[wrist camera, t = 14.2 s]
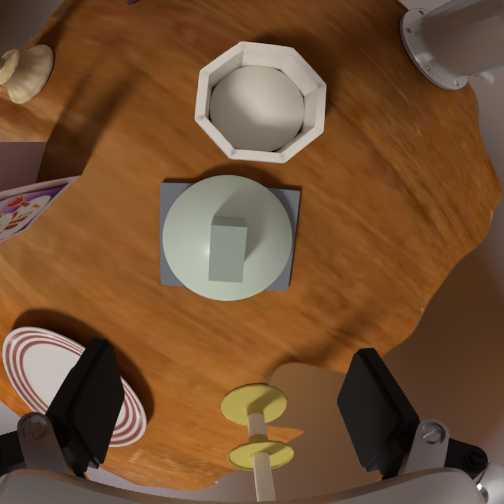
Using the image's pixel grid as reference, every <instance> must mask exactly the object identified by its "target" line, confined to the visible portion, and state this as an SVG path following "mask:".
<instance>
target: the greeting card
mask: <svg viewBox="0 0 504 504" xmlns="http://www.w3.org/2000/svg"><path fill="white" fill-rule="evenodd" d="M46 144H47V142H0V243H2V242H4V241H6V240H8V239H10V238H12V237H14V236H16V235H18V234H20V233H22V232H24V231H27V229H28V228H29V227H30V226H31V225H32V224H33V223H34V222H35V221H36V219H37V218H38V217H39V216H40V215H41V214H42V213H43V212H44V211H45V210H46V209H47V208H48V207H49V206H50V205H51V204H52V203H53V202H54V201H55V200H56V199H57V198H58V197H59V196H60V195H61V194H62V193H63V192H64V191H65V190H66V189H67V188H68V187H69V186H70V185H71V184H72V183H74V182H75V181H76V180H77V179H78V178H79V177H80V176H81V175H80V176H73V177H67V178H62V179H56V180H51V181H45V182H40V183H36V180H37V176H38V172H39V168H40V164H41V161H42V157H43V154H44V151H45V147H46Z"/></svg>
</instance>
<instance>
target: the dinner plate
mask: <svg viewBox="0 0 504 504" xmlns="http://www.w3.org/2000/svg"><path fill="white" fill-rule="evenodd" d="M84 350H85V347H84V346H82V345H80V344H79V343H77V342H75V341H73V340H71V339H69V338H67V337H65V336H63V335H61V334H58V333H56V332H53V331H50V330H47V329H44V328H38V327H21V328H17V329H15V330H13V331H12V332H10V333H9V335H8V336H7V337H6V339H5V341H4V345H3V362H4V366H5V369H6V372H7V375H8V377H9V379H10V381H11V383H12V385H13V386H14V388H15V389H16V391H17V392H18V394H19V395H20V396H21V398H22V399H23V400H24V401H25V403H26V404H27V405H28V406H29V407H30V408H31V409H32V410H33V411H34V412H40V413H42V414H44V415H45V413H46V411H47V409H48V408H49V406H50V404H51V402H52V400H53V399H54V397H55V395H56V393H57V392H58V390H59V388H60V386H61V385H62V383H63V381H64V380H65V378H66V376H67V374H68V373H69V371H70V370H71V368H72V367H74V366H75V364H76V363H77V361H78V360H79V358H80V356H81V355H82V353H83V352H84ZM120 377H121V376H120ZM121 380H122V384H123V387H124V391H125V399H124V402H123V405H122V408H121V410H120V413H119V416H118V419H117V422H116V425H115V428H114V431H113V434H112V438H111V441H110V444H109V447H119V446H125V445H129V444H131V443H133V442H135V441H137V440H138V439H140V438H141V436H142V435H143V434H144V432H145V429H146V423H147V421H146V414H145V411H144V408H143V406H142V404H141V402H140V400H139V398H138V397H137V395H136V394H135V392H134V391H133V390H132V388H131V387H130V386H129V384H128V383H127V382H126V381H125V380H124V379H123V378H122V377H121Z"/></svg>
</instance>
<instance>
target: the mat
mask: <svg viewBox="0 0 504 504" xmlns="http://www.w3.org/2000/svg"><path fill="white" fill-rule="evenodd" d="M194 184H196V183H164V182H162V183H160V270H161V285H170V286H185V285H184V284H183V283H182V282H181V281H180V280H179V279H178V278H177V277H176V276H175V274H174V273H173V271H172V270H171V268H170V266H169V264H168V262H167V260H166V257H165V253H164V249H163V228H164V223H165V220H166V217H167V214H168V212H169V210H170V208H171V206H172V205H173V203H174V202H175V201H176V199H177V198H178V197H179V196H180V195H181V194H182V193H183V192H184V191H185V190H187V189H188V188H189V187H191V186H192V185H194ZM267 189H268V190H269V191H271V192H272V193H273V194H274V195H275V196H276V197H277V198H278V200H279V201H280V202H281V204H282V205H283V207H284V209H285V211H286V213H287V215H288V218H289V220H290V224H291V229H292V247H291V252H290V256H289V259H288V261H287V263H286V265H285V267H284V269H283V271H282V272H281V274H280V275H279V276H278V278H277V279H276V280H275V281H274V282H273V283H272V284H271V285H269V286H268V287H267V288H266V289H264V290H273V291H288V285H289V278H290V271H291V264H292V256H293V248H294V240H295V232H296V224H297V215H298V207H299V198H300V191H298V190H287V189H276V188H267ZM185 287H186V286H185Z"/></svg>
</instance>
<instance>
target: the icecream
mask: <svg viewBox="0 0 504 504" xmlns="http://www.w3.org/2000/svg"><path fill="white" fill-rule="evenodd" d="M138 1H140V0H128V1H127V4H128V5H131V4H134V3H136V2H138Z"/></svg>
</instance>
